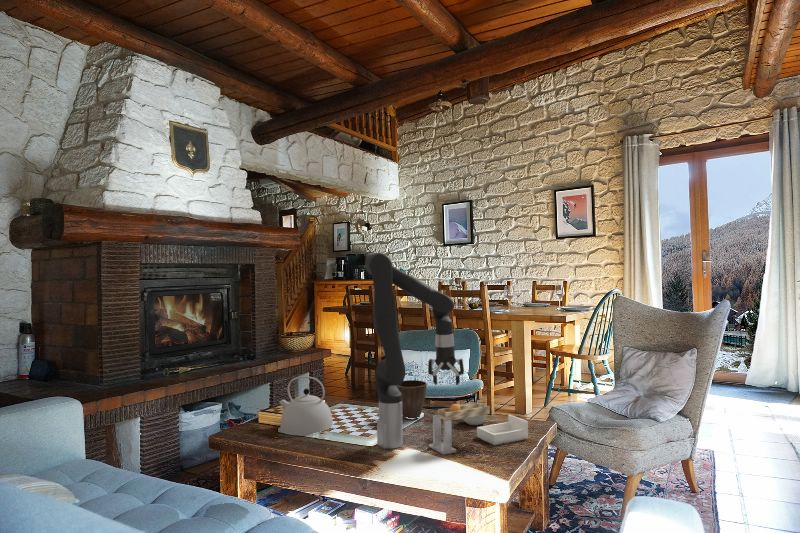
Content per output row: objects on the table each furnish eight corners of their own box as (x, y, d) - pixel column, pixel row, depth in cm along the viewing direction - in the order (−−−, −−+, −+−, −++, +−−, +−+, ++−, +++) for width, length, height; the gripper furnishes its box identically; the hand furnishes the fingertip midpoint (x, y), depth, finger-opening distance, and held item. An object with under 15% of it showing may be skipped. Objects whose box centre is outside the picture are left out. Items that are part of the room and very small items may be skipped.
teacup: (487, 426, 226) (487, 408, 226) (462, 427, 227) (462, 408, 227) (483, 418, 240) (483, 400, 240) (459, 418, 240) (459, 400, 241)
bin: (494, 445, 202) (494, 427, 202) (477, 437, 212) (476, 419, 212) (528, 438, 209) (528, 421, 210) (509, 431, 220) (509, 414, 220)
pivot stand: (442, 454, 192) (442, 422, 192) (429, 446, 201) (428, 415, 201) (456, 452, 195) (455, 419, 195) (442, 444, 204) (441, 413, 204)
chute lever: (446, 421, 195) (446, 413, 196) (426, 411, 209) (426, 404, 209) (489, 414, 204) (489, 406, 205) (467, 405, 218) (467, 398, 218)
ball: (453, 416, 198) (453, 405, 198) (448, 413, 202) (448, 403, 202) (462, 414, 200) (462, 404, 200) (456, 412, 204) (456, 402, 204)
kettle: (265, 432, 222) (265, 379, 222) (291, 418, 244) (291, 370, 244) (318, 437, 215) (318, 382, 215) (340, 422, 236) (340, 372, 237)
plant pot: (412, 424, 231) (412, 388, 231) (388, 418, 241) (388, 383, 241) (433, 417, 242) (433, 382, 243) (409, 411, 252) (409, 378, 253)
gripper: (426, 346, 209) (427, 386, 209) (461, 346, 206) (463, 387, 206) (428, 343, 216) (430, 382, 216) (463, 343, 213) (465, 382, 213)
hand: (446, 384), depth 211 cm, fingers open, 8 cm apart
